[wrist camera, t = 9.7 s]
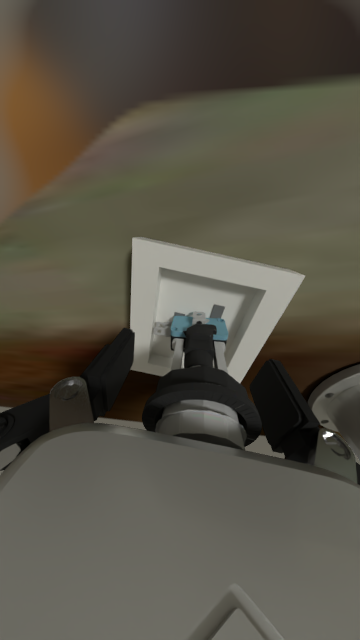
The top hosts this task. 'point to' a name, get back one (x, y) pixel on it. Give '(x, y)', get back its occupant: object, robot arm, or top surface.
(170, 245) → the socket plate
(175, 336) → the push button
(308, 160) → the top surface
